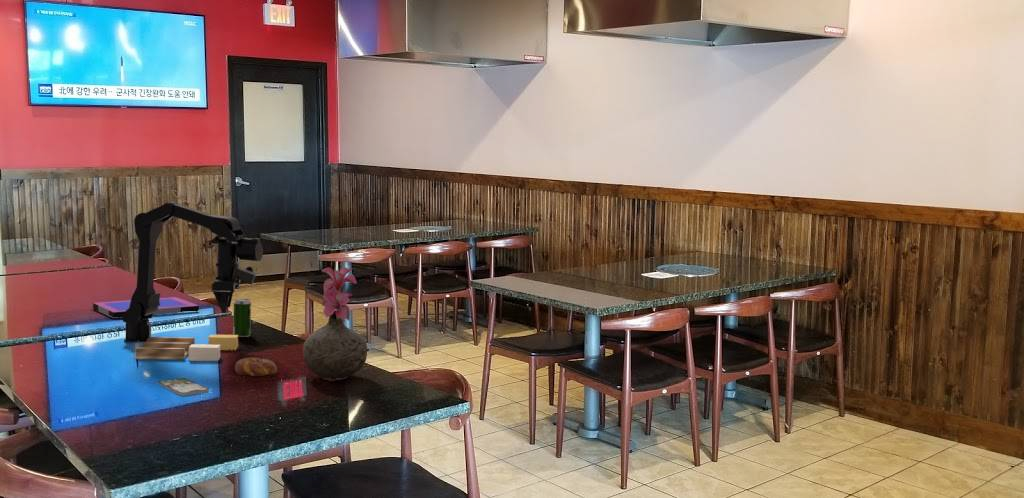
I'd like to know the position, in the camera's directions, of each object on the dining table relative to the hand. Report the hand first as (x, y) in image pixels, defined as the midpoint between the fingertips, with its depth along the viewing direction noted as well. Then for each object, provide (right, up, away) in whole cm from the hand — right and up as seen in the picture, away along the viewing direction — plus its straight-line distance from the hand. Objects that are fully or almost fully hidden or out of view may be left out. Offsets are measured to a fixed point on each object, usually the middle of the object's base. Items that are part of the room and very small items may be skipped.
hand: (226, 310), depth 267 cm
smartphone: (+4, -17, -45) cm, 48 cm away
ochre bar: (-1, -12, -1) cm, 12 cm away
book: (-46, -5, +52) cm, 70 cm away
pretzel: (+17, -16, -26) cm, 35 cm away
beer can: (-1, -10, +18) cm, 20 cm away
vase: (+38, -17, -28) cm, 50 cm away
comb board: (-14, -12, -10) cm, 21 cm away
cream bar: (-1, -13, -15) cm, 20 cm away
